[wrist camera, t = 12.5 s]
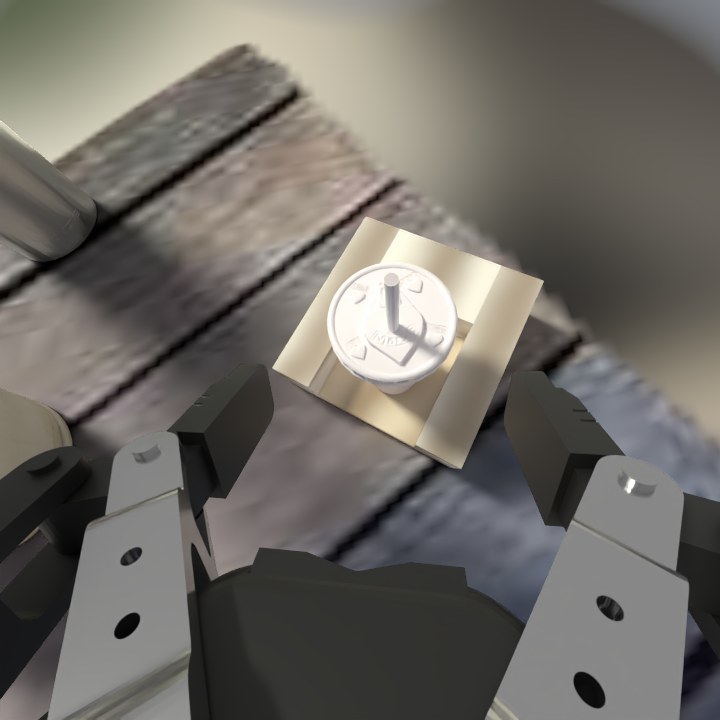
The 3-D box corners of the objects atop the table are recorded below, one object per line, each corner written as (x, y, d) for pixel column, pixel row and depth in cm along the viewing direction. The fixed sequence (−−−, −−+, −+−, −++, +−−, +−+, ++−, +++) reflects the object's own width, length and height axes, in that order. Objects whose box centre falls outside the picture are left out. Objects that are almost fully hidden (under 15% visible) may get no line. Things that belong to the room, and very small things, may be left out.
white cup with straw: (357, 418, 24) (308, 366, 11) (346, 339, 26) (293, 210, 13) (444, 405, 23) (506, 332, 10) (426, 325, 25) (458, 177, 12)
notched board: (292, 382, 27) (272, 368, 23) (370, 251, 30) (365, 216, 26) (449, 467, 24) (461, 469, 19) (520, 310, 26) (543, 281, 22)
